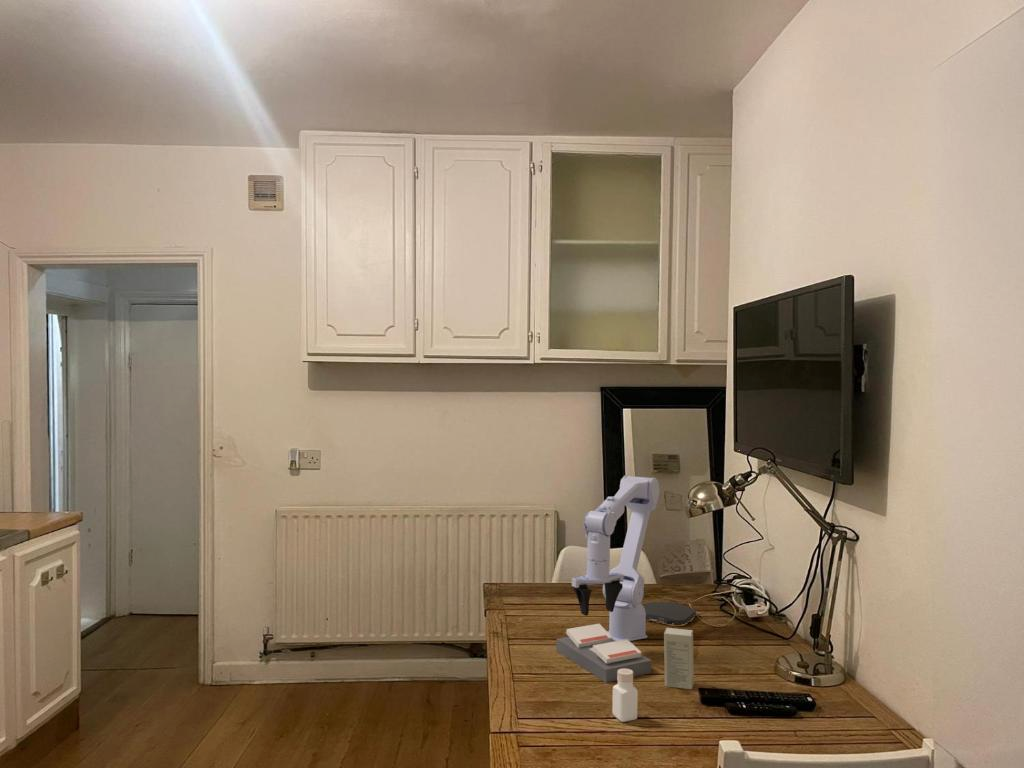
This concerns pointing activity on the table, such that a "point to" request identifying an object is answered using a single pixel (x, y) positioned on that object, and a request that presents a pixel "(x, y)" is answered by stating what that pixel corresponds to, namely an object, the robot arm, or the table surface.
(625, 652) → the rocker
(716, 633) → the table surface
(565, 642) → the rocker switch panel
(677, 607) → the media streaming box
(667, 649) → the skincare box
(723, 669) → the table surface
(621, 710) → the white pill bottle
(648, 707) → the table surface
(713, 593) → the table surface
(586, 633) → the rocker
